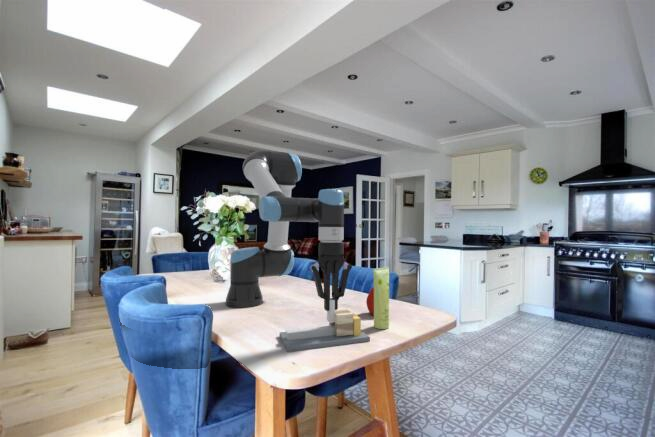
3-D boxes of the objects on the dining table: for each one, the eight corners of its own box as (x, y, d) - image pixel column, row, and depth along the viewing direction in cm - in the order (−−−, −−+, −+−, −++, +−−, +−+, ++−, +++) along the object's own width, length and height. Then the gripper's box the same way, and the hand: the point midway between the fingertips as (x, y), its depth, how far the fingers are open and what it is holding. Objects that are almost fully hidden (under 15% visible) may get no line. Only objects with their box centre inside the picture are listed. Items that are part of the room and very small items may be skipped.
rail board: (279, 336, 94) (279, 315, 95) (353, 328, 102) (353, 308, 102) (287, 351, 83) (287, 328, 83) (369, 341, 91) (369, 319, 91)
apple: (384, 318, 113) (384, 288, 113) (362, 315, 117) (362, 286, 117) (391, 313, 120) (391, 284, 120) (370, 310, 124) (370, 282, 124)
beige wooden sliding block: (329, 328, 97) (329, 309, 97) (344, 327, 99) (344, 307, 99) (337, 336, 90) (337, 315, 90) (353, 334, 92) (353, 313, 92)
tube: (389, 330, 100) (389, 268, 100) (373, 329, 101) (373, 268, 101) (389, 325, 105) (388, 266, 106) (373, 324, 106) (373, 266, 107)
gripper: (313, 242, 88) (313, 327, 88) (356, 241, 92) (356, 322, 92) (306, 241, 95) (306, 319, 95) (346, 240, 100) (346, 315, 99)
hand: (330, 321), depth 93 cm, fingers closed
